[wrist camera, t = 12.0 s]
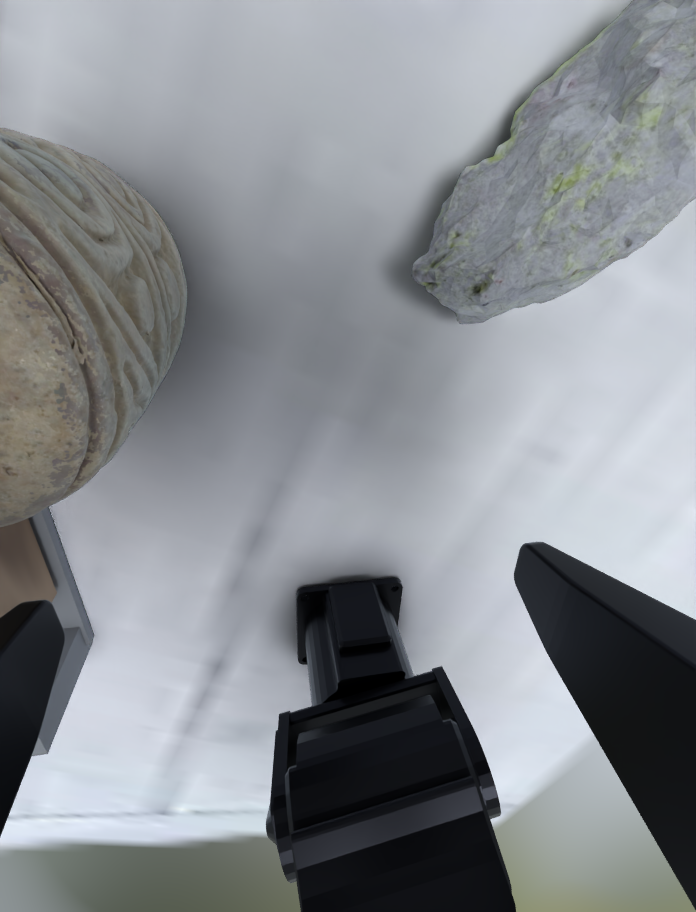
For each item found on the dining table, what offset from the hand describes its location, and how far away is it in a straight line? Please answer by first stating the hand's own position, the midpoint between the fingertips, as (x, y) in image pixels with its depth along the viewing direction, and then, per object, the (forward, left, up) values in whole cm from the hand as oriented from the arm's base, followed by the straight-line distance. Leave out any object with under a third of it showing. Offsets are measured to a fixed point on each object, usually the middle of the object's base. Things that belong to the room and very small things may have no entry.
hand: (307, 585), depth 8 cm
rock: (+9, -12, -13) cm, 20 cm away
